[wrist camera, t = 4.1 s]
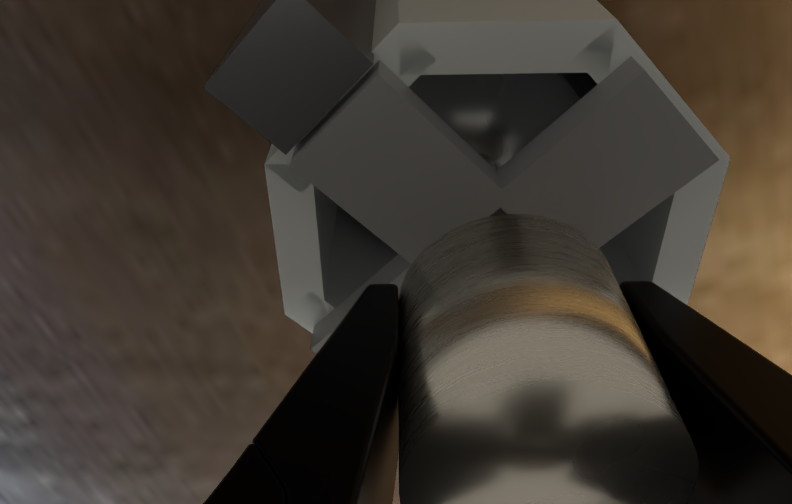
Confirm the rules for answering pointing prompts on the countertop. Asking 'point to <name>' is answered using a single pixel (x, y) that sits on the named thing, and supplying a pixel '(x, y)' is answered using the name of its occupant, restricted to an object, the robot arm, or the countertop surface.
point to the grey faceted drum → (459, 141)
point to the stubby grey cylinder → (526, 344)
